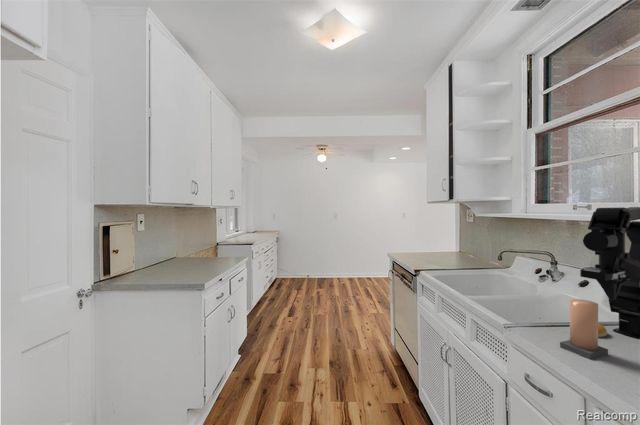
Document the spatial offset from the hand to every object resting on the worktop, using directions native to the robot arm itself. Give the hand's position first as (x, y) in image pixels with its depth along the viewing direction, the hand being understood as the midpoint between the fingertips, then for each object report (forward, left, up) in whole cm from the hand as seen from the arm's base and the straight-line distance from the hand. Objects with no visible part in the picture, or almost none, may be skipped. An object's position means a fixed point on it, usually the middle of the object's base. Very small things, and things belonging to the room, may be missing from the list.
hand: (612, 299), depth 88 cm
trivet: (+14, +1, -13) cm, 19 cm away
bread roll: (-2, -8, -14) cm, 16 cm away
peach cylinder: (+14, +1, -11) cm, 18 cm away
